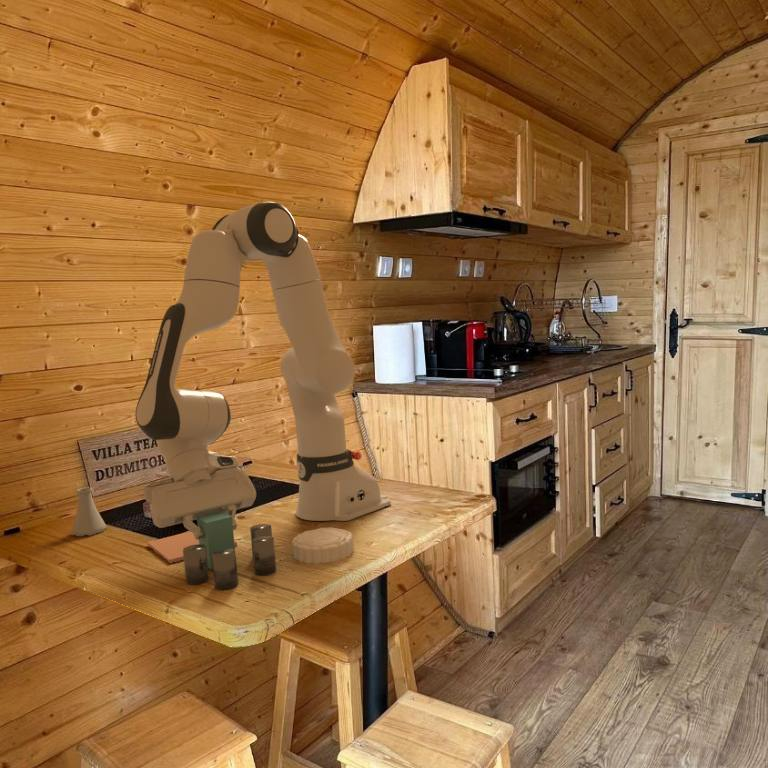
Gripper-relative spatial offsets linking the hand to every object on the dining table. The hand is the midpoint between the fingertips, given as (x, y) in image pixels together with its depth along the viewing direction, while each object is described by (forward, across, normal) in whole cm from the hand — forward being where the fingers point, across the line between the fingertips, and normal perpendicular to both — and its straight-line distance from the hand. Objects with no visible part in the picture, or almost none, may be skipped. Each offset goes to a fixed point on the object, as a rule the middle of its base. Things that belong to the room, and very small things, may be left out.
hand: (217, 533), depth 133 cm
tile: (-6, 0, +15) cm, 16 cm away
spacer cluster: (+9, +1, 0) cm, 9 cm away
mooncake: (+11, +18, -1) cm, 21 cm away
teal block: (+4, 0, +5) cm, 6 cm away
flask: (-25, -14, +34) cm, 44 cm away
